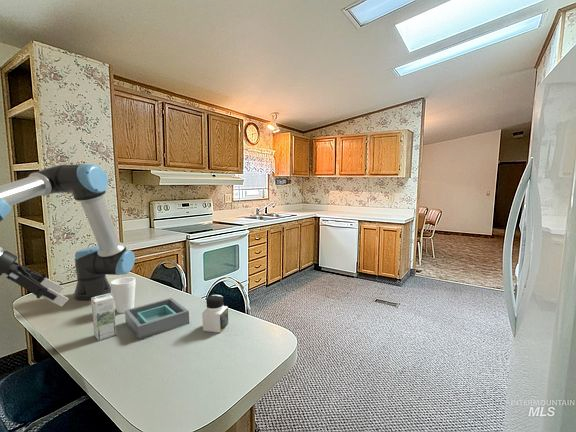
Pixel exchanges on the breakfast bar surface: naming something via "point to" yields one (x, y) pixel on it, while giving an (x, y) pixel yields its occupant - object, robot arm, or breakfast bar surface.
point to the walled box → (156, 318)
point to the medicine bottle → (215, 314)
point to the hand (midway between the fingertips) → (63, 296)
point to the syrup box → (103, 316)
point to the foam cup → (123, 293)
